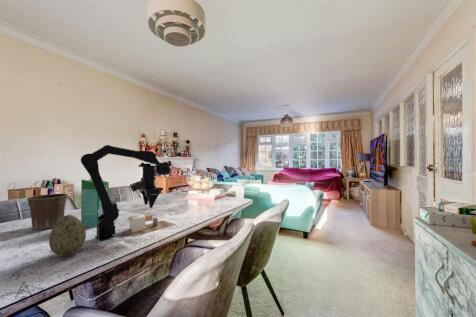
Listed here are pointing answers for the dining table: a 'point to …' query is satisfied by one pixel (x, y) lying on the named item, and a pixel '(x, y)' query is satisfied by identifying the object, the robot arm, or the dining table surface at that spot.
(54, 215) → the plant pot
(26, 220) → the dining table surface
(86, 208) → the milk carton
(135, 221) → the white rectangular block
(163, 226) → the walnut stand
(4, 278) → the dining table surface
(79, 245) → the decorative egg
